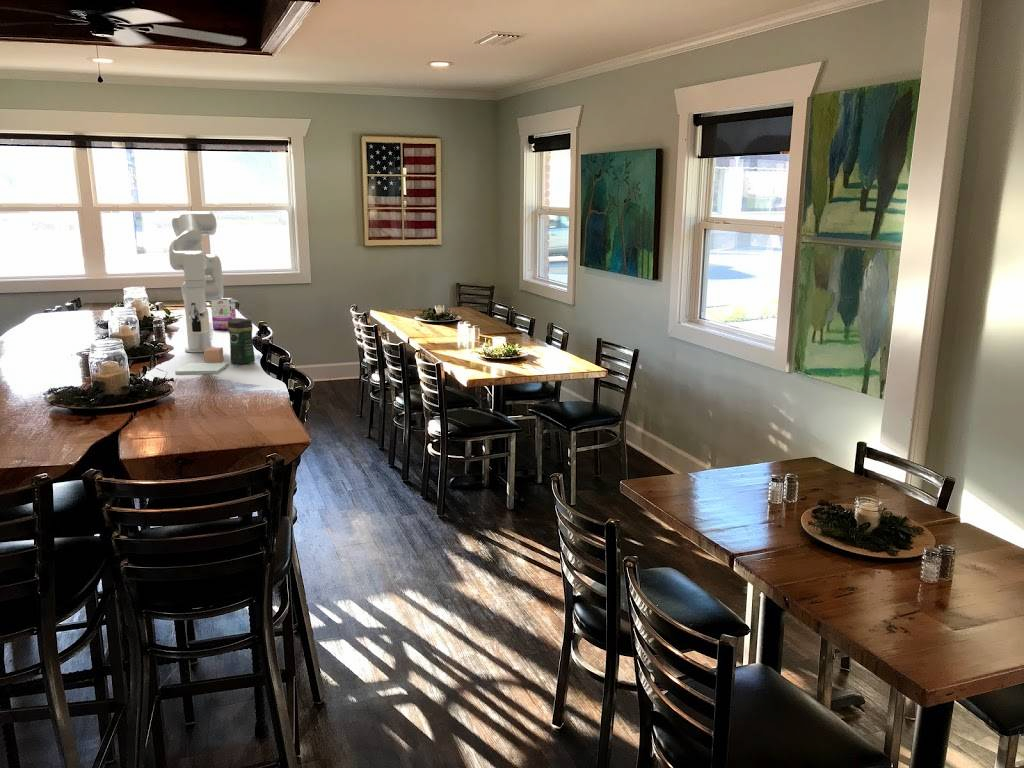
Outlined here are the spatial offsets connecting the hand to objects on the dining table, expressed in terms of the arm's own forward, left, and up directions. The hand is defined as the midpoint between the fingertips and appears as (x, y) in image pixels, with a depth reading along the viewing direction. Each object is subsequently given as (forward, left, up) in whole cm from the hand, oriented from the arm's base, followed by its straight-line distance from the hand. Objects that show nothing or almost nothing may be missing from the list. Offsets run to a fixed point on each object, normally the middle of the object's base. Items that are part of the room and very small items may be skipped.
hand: (199, 329), depth 317 cm
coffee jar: (-14, +12, -16) cm, 25 cm away
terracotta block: (-14, +1, -16) cm, 21 cm away
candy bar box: (-105, -17, -16) cm, 108 cm away
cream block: (0, 0, -1) cm, 1 cm away
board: (0, 0, -16) cm, 16 cm away
